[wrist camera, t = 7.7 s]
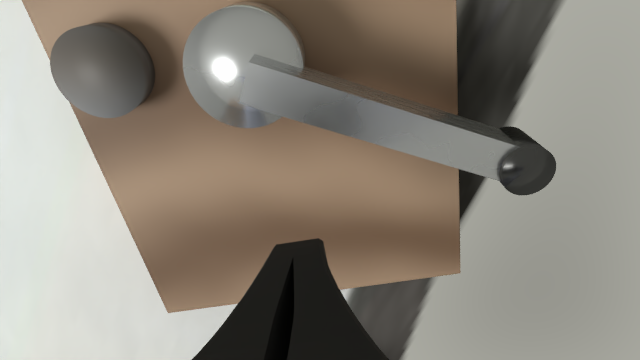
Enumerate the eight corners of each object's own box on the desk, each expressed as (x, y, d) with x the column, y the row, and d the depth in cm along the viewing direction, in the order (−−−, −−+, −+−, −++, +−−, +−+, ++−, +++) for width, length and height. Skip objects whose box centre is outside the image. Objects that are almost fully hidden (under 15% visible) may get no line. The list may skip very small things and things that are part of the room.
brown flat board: (452, 256, 20) (470, 294, 17) (175, 295, 21) (158, 336, 18) (439, -244, 12) (470, -298, 9) (-18, -141, 12) (-93, -166, 10)
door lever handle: (530, 93, 15) (586, 125, 12) (483, 178, 16) (521, 226, 13) (210, -15, 13) (177, -10, 10) (191, 92, 14) (159, 124, 11)
